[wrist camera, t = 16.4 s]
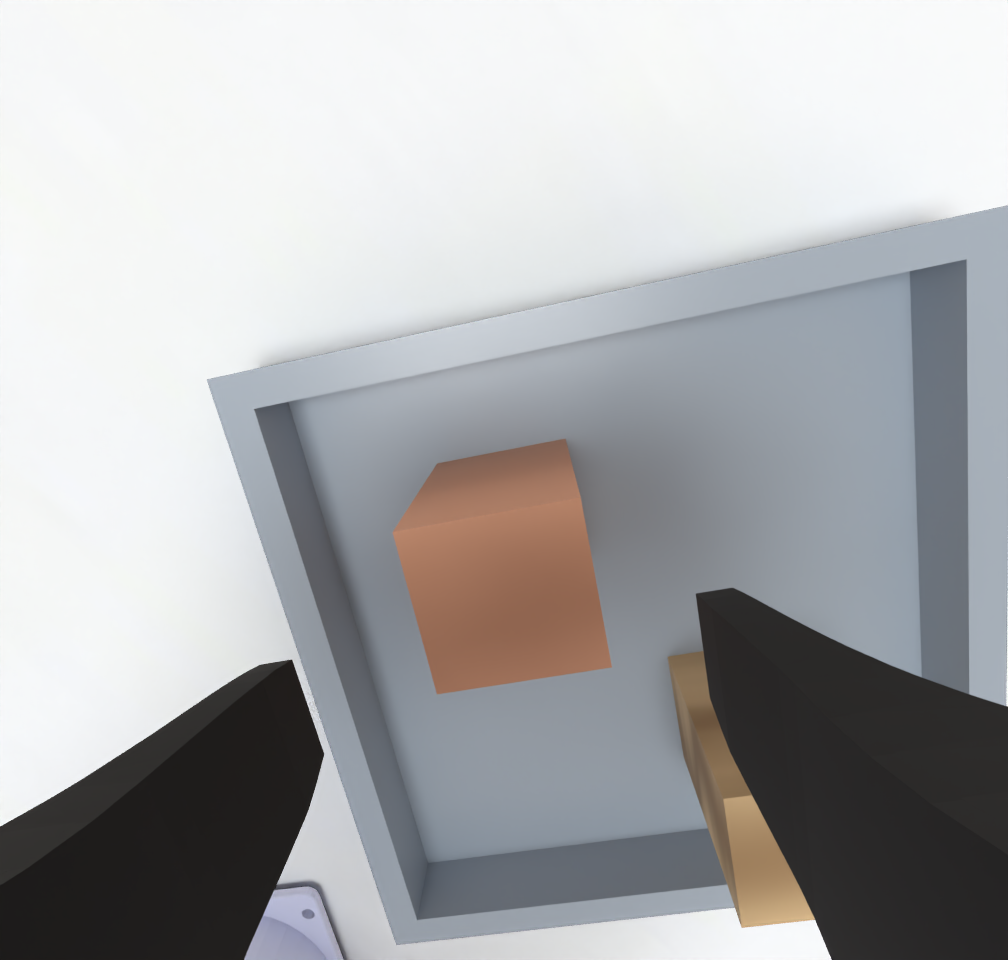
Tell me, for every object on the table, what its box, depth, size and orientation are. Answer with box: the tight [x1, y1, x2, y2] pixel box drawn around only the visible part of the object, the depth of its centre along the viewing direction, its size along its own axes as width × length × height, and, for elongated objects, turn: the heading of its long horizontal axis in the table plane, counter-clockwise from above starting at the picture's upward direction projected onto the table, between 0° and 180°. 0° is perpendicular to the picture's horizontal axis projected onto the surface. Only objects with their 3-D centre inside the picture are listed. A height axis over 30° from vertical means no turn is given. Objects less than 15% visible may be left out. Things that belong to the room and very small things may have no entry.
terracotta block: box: [393, 439, 612, 694], centre depth 16 cm, size 4×4×6 cm
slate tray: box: [207, 205, 1008, 945], centre depth 19 cm, size 20×20×3 cm
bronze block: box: [668, 651, 815, 928], centre depth 17 cm, size 4×4×6 cm
